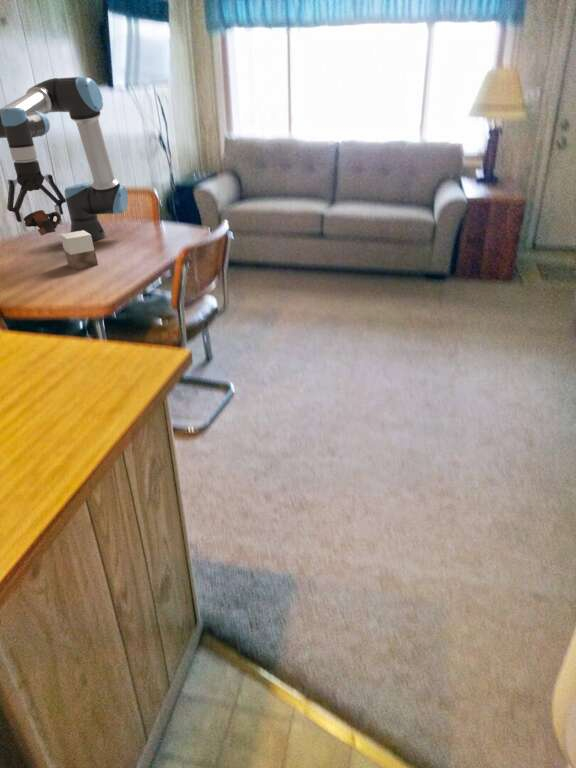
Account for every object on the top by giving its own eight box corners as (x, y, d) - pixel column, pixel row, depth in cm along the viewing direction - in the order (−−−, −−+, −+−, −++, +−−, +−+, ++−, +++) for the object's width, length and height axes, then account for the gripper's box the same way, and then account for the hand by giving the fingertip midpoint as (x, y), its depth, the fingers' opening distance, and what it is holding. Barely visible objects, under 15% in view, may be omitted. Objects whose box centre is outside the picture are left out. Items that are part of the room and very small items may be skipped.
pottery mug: (33, 239, 182) (19, 216, 181) (35, 245, 191) (22, 223, 190) (66, 224, 186) (53, 201, 184) (67, 230, 195) (55, 209, 193)
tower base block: (90, 260, 219) (87, 245, 216) (98, 265, 213) (94, 250, 210) (67, 264, 215) (64, 249, 212) (75, 270, 208) (71, 254, 205)
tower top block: (87, 245, 216) (83, 230, 213) (94, 250, 210) (91, 234, 207) (63, 249, 212) (60, 234, 209) (70, 254, 205) (66, 238, 202)
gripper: (58, 155, 186) (73, 219, 198) (-17, 164, 174) (4, 232, 186) (65, 157, 181) (80, 223, 192) (-11, 166, 169) (9, 236, 180)
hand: (43, 227), depth 189 cm, fingers closed on pottery mug, 11 cm apart
